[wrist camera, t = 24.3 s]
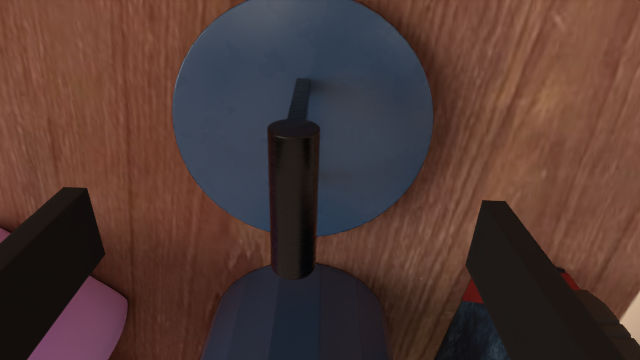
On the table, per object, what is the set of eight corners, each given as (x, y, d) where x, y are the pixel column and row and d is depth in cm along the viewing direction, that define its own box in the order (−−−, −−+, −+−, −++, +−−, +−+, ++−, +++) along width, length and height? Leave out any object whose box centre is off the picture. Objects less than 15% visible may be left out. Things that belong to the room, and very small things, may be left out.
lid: (450, -7, 19) (539, 18, 11) (409, 229, 26) (447, 351, 18) (161, -18, 19) (43, -1, 11) (194, 222, 26) (134, 341, 18)
